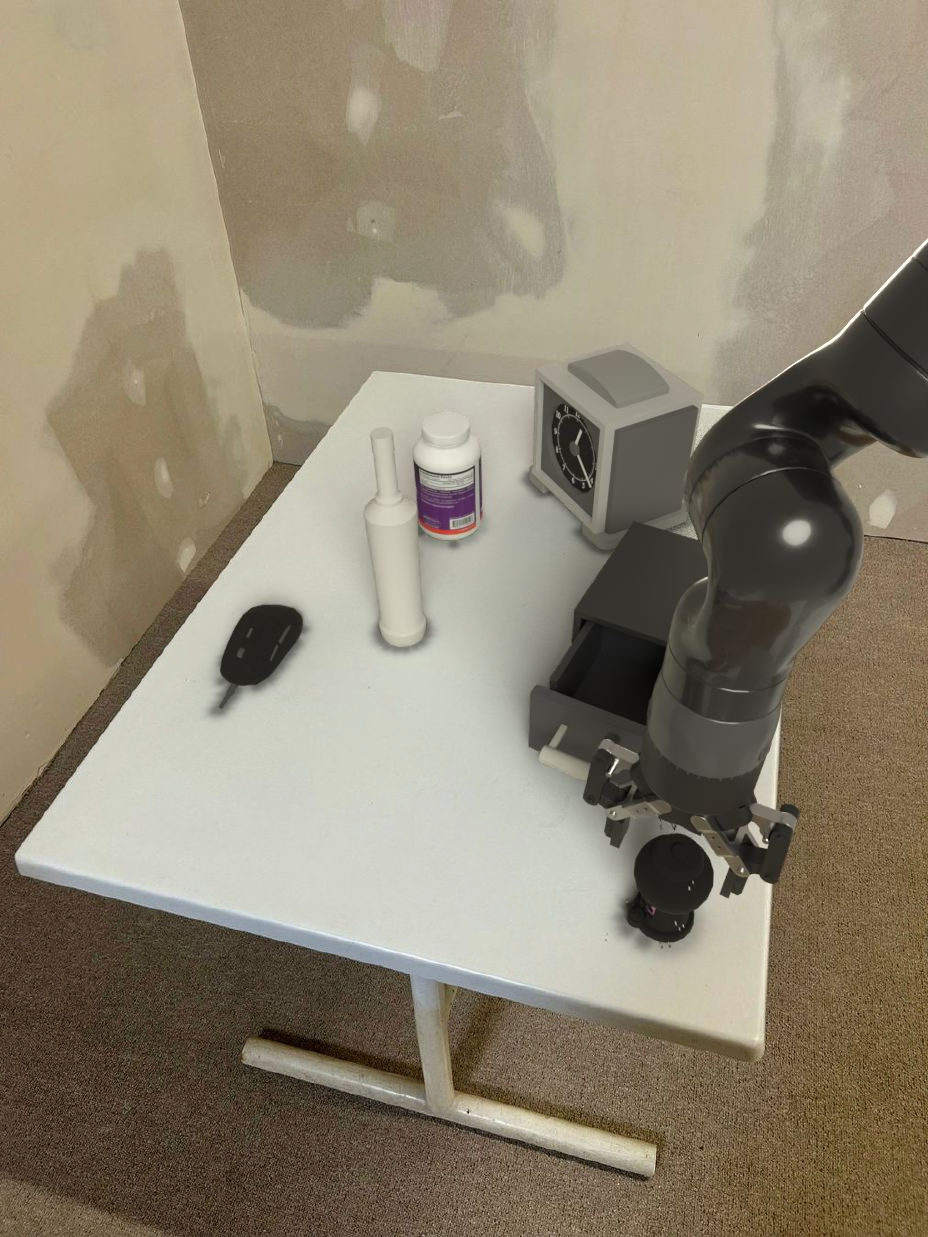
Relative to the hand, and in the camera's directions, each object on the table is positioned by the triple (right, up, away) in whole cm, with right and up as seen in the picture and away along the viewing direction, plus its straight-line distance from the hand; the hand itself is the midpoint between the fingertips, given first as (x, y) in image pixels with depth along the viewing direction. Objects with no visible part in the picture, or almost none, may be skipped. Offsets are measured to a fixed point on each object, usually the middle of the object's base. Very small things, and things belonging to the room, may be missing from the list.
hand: (671, 861), depth 65 cm
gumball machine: (0, -6, +5) cm, 8 cm away
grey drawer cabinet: (+4, +15, +26) cm, 31 cm away
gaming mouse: (-38, +14, +27) cm, 49 cm away
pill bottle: (-17, +30, +43) cm, 55 cm away
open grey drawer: (-2, +7, +18) cm, 19 cm away
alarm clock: (+3, +34, +46) cm, 58 cm away
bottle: (-22, +17, +30) cm, 41 cm away
